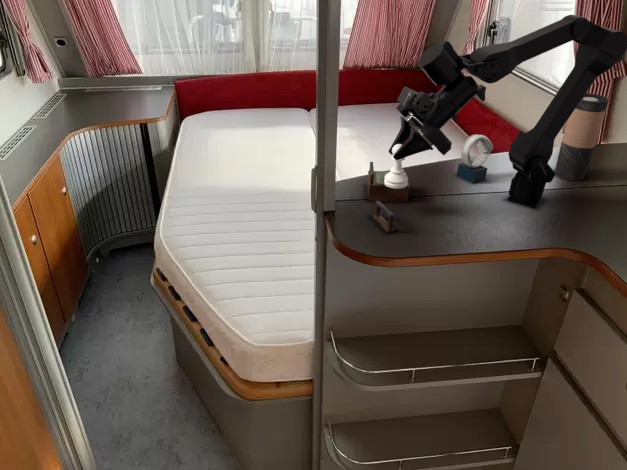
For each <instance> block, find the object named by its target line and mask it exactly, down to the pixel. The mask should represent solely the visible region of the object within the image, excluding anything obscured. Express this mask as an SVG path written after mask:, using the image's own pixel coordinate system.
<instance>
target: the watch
mask: <svg viewBox="0 0 627 470" xmlns="http://www.w3.org/2000/svg"><path fill="white" fill-rule="evenodd" d="M474 144H475V147H477V149H478V152H479V155H478V157H477V158H476V159H475V160H474V161H472V160H471V154H470V151H471V150H470V149H471V148H472V146H473V145H474ZM493 149H494V145H493V143H492V141H491V140H490V139H489V138H488V137H487V136H486V135H483V134H477V133H475V134H471V135H470V136H469V137H468V138H467V139H466V140H465V141H464V143H463V145H462V148H461V153H460V156H461V161H462V162H460V163H458V164H457V165H458V166H457V171H456V177H459V178H460V179H463V180H465V181H467V182H469V183H471V184H476V183H480V182H483V181H485V180H486V178H487V173H488V167H486V166H484V165H483V164H484V163H485V162H486V161H487V160H488V158H489V157H490V155H491V152H492V151H493Z"/></svg>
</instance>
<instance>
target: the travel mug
mask: <svg viewBox="0 0 627 470" xmlns="http://www.w3.org/2000/svg"><path fill="white" fill-rule="evenodd" d="M608 104H609V98H608V97H606V96H604V95H601V94H596V93H588V92H586V94H585V95H584V97H583V98H582V100H581V101H580V103H579V104H578V105H577V107H576V108H575V110H574V111H573V113H572V114H571V116H570V117H569V119H568V120H567V122H566V123H565V128H564V131H563V135H562V138H561V143H560V148H559V152H558V156H557V160H556V164H555V169H554V172H555V174H556V175H555V176H557V177H558V178H560V179H564V180H567V181H582V180H584V179H585V176H586V174H587V172H588V168H589V166H590V164H591V160H592V157H593V154H594V151H595V148H596V145H597V142H598V138H599V135H600V131H601V128H602V125H603V122H604V117H605V114H606V110H607V107H608Z"/></svg>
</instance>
